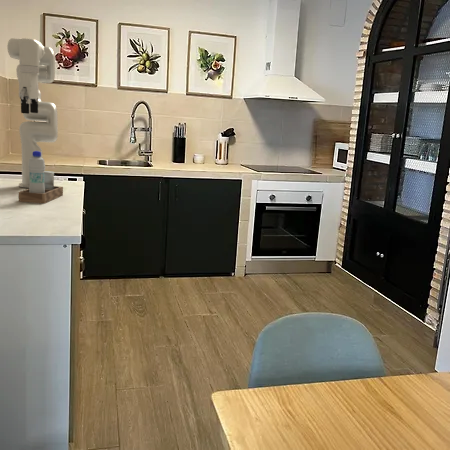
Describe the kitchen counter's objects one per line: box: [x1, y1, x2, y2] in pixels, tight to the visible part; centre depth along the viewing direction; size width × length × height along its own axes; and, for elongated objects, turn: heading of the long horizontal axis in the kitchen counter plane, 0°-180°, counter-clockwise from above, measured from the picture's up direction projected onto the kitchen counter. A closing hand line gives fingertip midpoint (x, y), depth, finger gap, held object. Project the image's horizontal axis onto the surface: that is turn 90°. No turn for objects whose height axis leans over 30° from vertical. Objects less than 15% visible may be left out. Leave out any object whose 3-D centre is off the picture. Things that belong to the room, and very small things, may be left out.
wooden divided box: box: [18, 170, 64, 204], centre depth 220 cm, size 22×11×11 cm, turn 178°
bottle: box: [28, 151, 46, 193], centre depth 214 cm, size 7×7×20 cm
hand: (29, 113), depth 211 cm, fingers open, 9 cm apart
